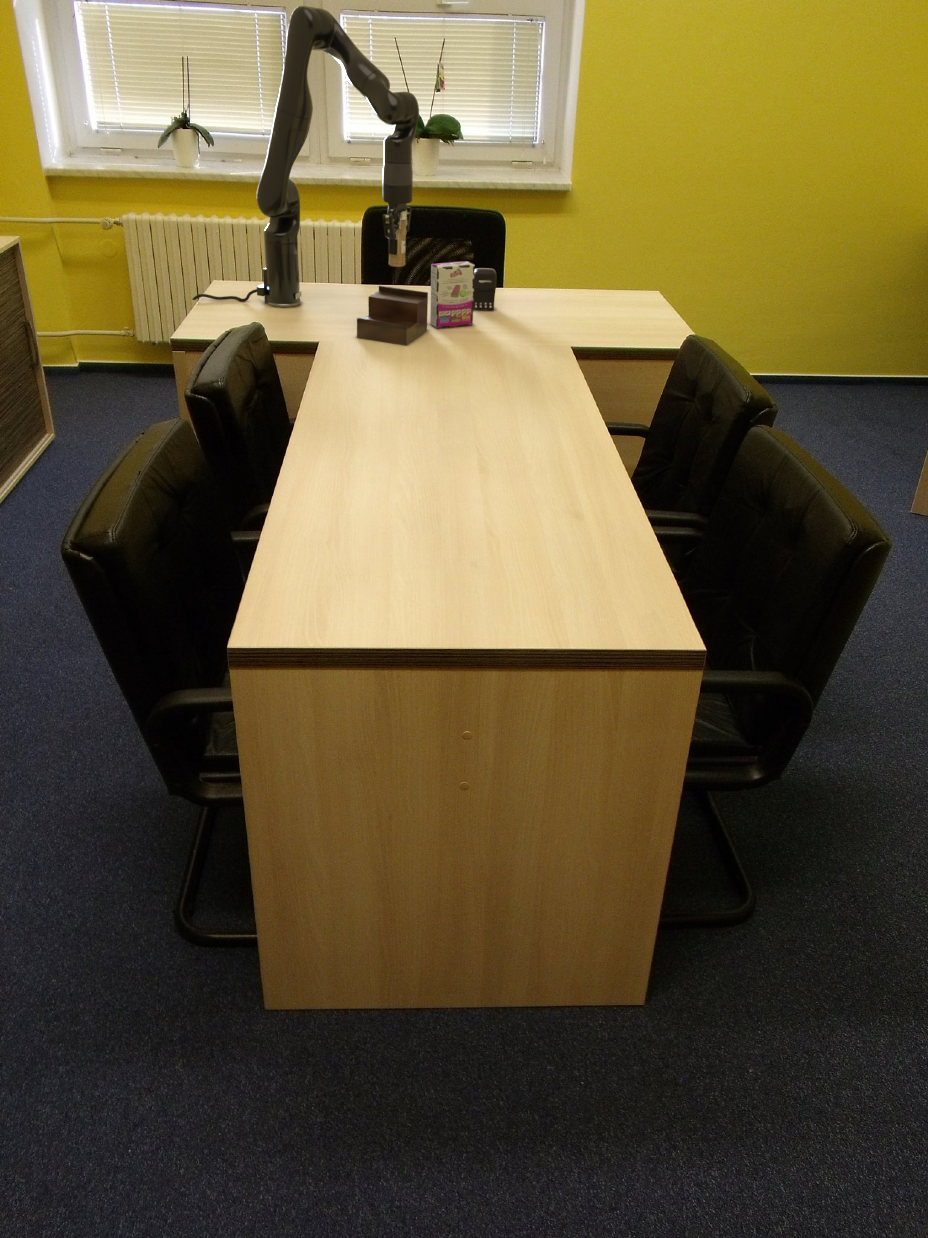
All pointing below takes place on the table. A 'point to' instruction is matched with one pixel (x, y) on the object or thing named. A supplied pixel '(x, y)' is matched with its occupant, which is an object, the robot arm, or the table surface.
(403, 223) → the sprinkles bottle
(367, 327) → the shelf
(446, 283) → the candy bar box
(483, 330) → the table surface
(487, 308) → the black battery charger
